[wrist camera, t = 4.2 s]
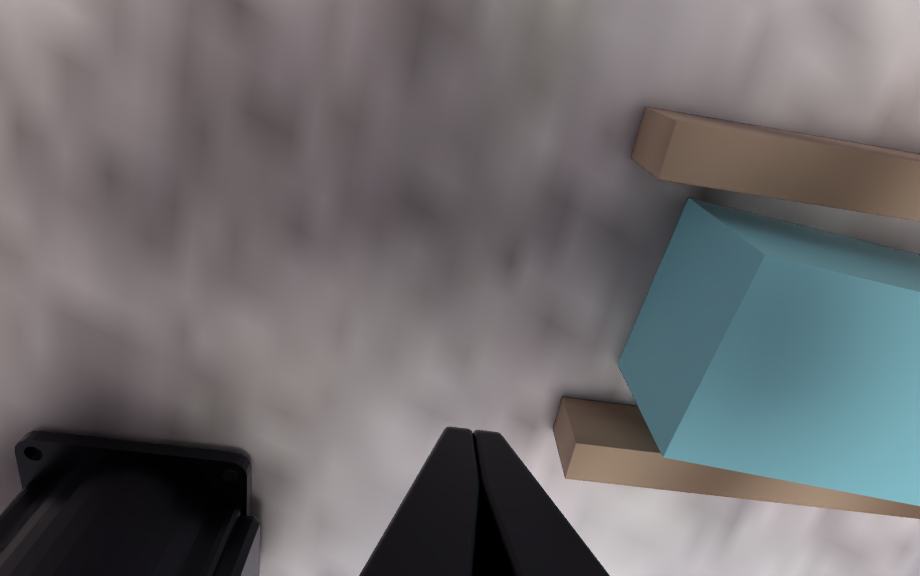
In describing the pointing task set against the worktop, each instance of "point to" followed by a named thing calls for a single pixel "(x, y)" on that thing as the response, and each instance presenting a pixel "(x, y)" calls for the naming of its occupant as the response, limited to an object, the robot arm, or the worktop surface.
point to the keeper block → (782, 354)
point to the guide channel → (758, 173)
